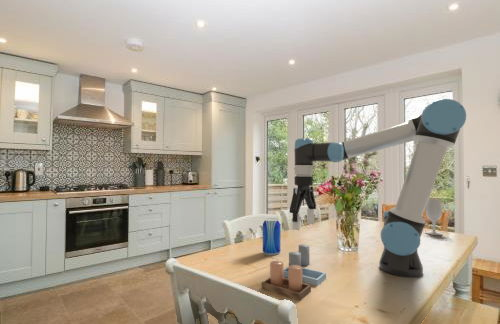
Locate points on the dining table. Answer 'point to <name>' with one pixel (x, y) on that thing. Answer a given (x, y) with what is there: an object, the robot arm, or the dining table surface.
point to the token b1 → (294, 258)
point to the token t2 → (295, 278)
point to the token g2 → (304, 254)
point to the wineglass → (433, 213)
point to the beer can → (271, 236)
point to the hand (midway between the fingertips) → (303, 226)
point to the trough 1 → (284, 291)
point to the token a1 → (276, 273)
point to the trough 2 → (309, 276)
